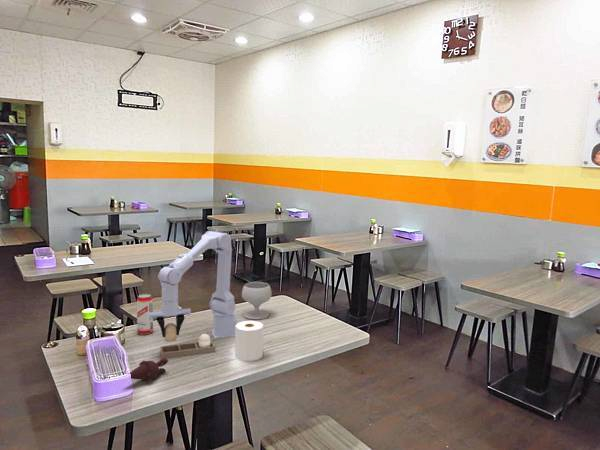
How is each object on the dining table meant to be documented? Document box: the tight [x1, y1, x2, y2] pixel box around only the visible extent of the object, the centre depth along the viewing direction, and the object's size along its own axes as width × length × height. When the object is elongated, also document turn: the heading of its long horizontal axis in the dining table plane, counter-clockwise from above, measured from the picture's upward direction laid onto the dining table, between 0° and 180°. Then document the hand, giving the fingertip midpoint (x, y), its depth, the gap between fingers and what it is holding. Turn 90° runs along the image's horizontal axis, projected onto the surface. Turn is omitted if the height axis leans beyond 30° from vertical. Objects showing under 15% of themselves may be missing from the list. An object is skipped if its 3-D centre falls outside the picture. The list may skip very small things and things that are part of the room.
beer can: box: [136, 293, 154, 336], centre depth 183 cm, size 6×6×16 cm
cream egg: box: [198, 333, 211, 348], centre depth 167 cm, size 4×4×6 cm
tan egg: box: [163, 322, 178, 343], centre depth 161 cm, size 4×4×6 cm
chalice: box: [241, 281, 273, 320], centre depth 207 cm, size 14×14×15 cm
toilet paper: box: [234, 320, 264, 362], centre depth 163 cm, size 10×10×12 cm
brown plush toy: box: [129, 358, 169, 384], centre depth 143 cm, size 7×7×15 cm
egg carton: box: [159, 339, 216, 360], centre depth 165 cm, size 20×7×2 cm, turn 112°
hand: (170, 335), depth 162 cm, fingers closed on tan egg, 4 cm apart
